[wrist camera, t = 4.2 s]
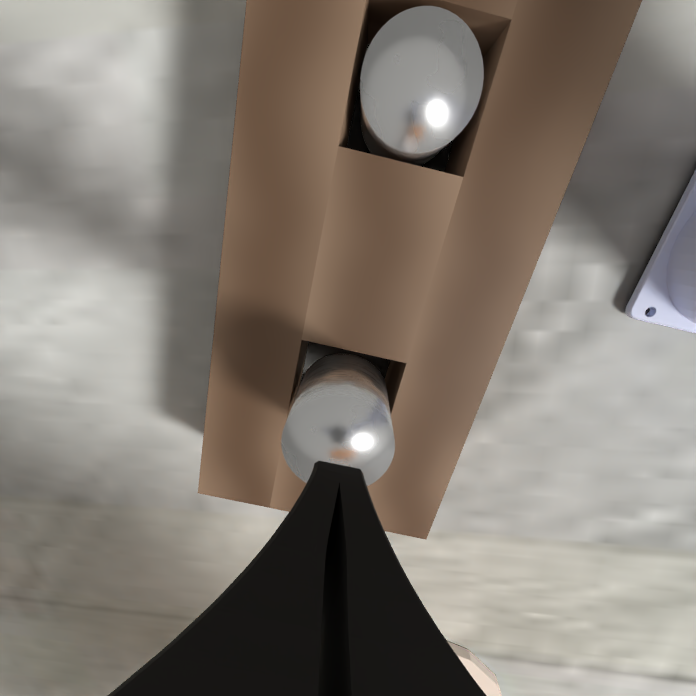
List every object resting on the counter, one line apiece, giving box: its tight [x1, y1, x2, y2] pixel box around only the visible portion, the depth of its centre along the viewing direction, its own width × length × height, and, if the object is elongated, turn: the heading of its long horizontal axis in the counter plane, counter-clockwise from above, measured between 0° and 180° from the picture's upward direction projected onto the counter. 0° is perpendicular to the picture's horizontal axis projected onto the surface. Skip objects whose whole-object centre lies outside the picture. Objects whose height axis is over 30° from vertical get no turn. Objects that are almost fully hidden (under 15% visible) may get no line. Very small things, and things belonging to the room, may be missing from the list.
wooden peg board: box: [198, 0, 642, 539], centre depth 16 cm, size 12×26×4 cm, turn 167°
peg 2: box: [360, 6, 484, 166], centre depth 13 cm, size 4×4×4 cm
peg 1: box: [281, 353, 395, 486], centre depth 14 cm, size 4×4×4 cm
